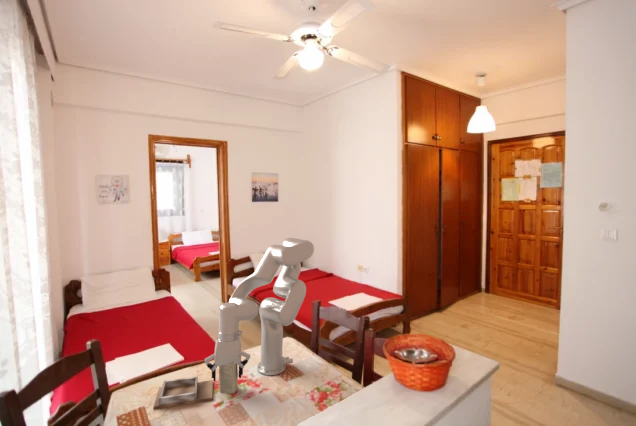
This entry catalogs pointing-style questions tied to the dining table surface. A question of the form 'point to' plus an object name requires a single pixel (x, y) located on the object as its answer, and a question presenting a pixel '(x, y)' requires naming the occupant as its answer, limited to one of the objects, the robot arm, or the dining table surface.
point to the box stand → (183, 392)
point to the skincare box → (228, 378)
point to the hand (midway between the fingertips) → (227, 378)
